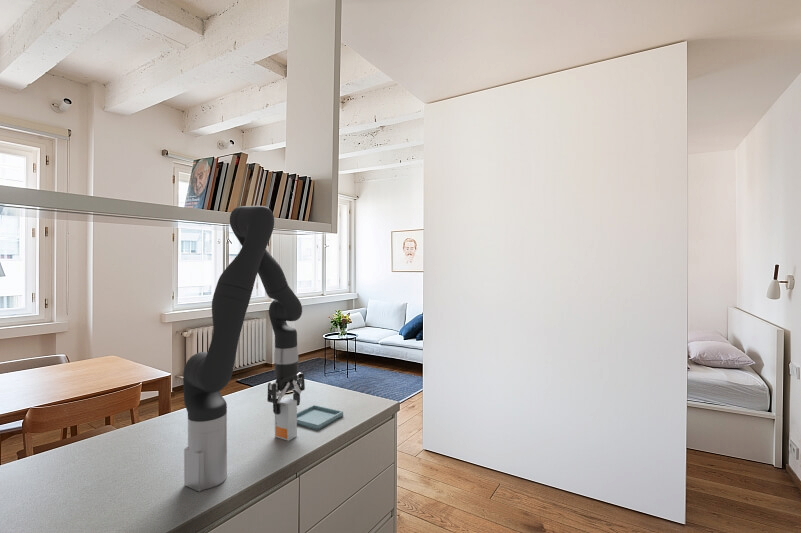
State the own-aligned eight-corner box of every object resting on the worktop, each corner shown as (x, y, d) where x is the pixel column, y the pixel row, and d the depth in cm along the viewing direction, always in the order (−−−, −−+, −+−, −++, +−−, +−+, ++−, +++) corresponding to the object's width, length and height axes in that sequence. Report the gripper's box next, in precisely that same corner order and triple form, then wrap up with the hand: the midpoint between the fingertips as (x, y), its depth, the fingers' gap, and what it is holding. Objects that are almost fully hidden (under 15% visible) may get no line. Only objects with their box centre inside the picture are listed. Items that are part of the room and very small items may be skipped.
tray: (318, 430, 135) (318, 425, 135) (287, 422, 142) (287, 417, 142) (343, 416, 148) (343, 411, 148) (314, 409, 154) (314, 404, 154)
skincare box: (274, 437, 130) (274, 400, 130) (283, 432, 134) (283, 396, 133) (288, 441, 127) (288, 404, 127) (297, 436, 131) (297, 399, 131)
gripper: (278, 367, 122) (279, 419, 122) (310, 356, 134) (310, 404, 135) (261, 364, 126) (261, 414, 126) (293, 354, 138) (294, 400, 138)
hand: (287, 409), depth 130 cm, fingers open, 8 cm apart
